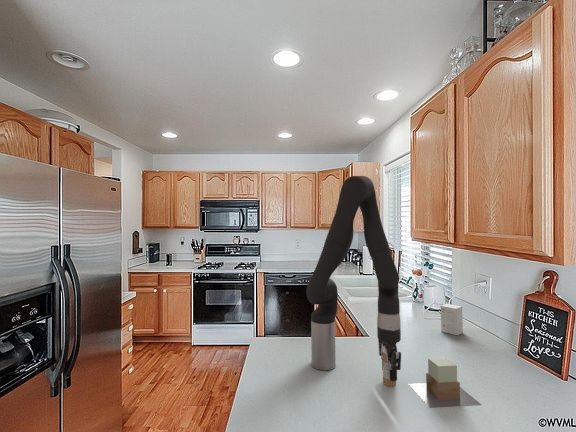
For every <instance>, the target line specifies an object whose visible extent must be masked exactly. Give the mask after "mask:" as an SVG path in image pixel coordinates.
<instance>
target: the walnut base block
mask: <svg viewBox="0 0 576 432" xmlns="http://www.w3.org/2000/svg"><path fill="white" fill-rule="evenodd" d="M425 376H426V377H425V379H426V380H425V381H426V382H425V383H426V389H427V390H428V391H429V392H430V393H431V394H432V395H433V396H434V397H435V398H436V399H437V400H454V399H460V387H461V385H460V384H461V382H460V381H458V380H457V382H445V383H438V382H437V381H436V380H435V379H434V378H433V377H431V376H430V375H429V374H428V372H427V373H425Z"/></svg>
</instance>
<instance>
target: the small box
mask: <svg viewBox="0 0 576 432" xmlns="http://www.w3.org/2000/svg"><path fill="white" fill-rule="evenodd" d="M463 320H464V318H463V306H461V305H455V304H449V303H446V304H445V303H444V304H443V305H440V327H441V330H440V331H441V333H442V332H443V333H445V334H451V335H453V336H454V335H455V336H459V335H461V334H463V333H464V322H463Z"/></svg>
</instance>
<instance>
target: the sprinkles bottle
mask: <svg viewBox="0 0 576 432" xmlns="http://www.w3.org/2000/svg"><path fill="white" fill-rule="evenodd" d="M384 347H386V346H385V345H384V346H382V352H383V370H382V384H383V385H384V386H386V387H389V388H391V387H396V386H397V381H391V380H390V367H389V362H387V358H386V352H385V348H384ZM390 359H392V358H390ZM391 363H392V362H391Z"/></svg>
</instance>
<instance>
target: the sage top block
mask: <svg viewBox="0 0 576 432" xmlns="http://www.w3.org/2000/svg"><path fill="white" fill-rule="evenodd" d="M427 362H428V363H427V366H428V368H427V369H428V370H427V371H428V372H427V373H428V374H429V375H430V376H431V377H433V378H434V379H435V380H436V381H437V382H438V383H445V382H457V381H458V365H457V364H455V363H454V362H453V361H451V360H450V359H448V358H447V357H428V359H427Z"/></svg>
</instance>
